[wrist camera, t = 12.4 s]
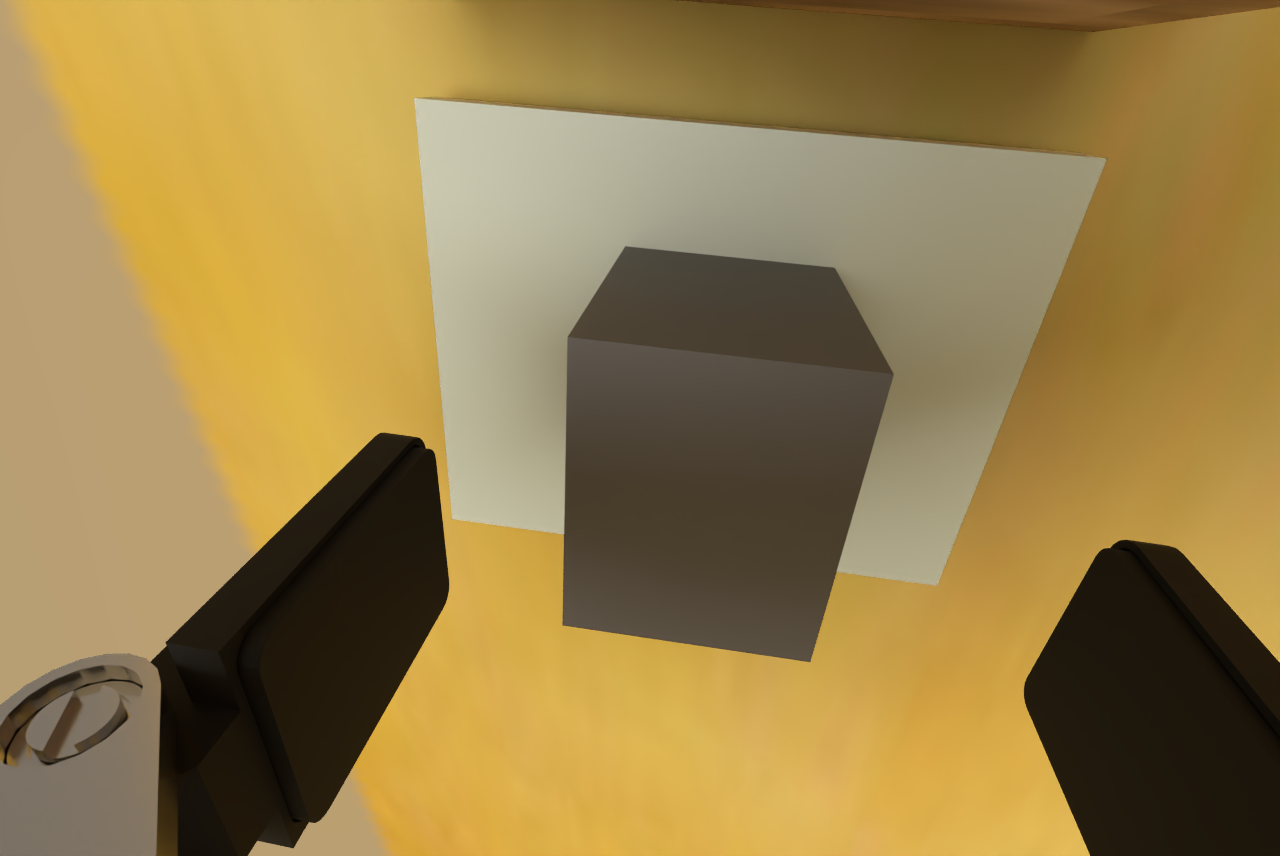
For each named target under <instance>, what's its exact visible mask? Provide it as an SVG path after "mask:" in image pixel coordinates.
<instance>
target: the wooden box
mask: <svg viewBox="0 0 1280 856" xmlns="http://www.w3.org/2000/svg"><path fill="white" fill-rule="evenodd" d="M679 1H693V2H706V3H719V4H733V5H746V6H759V7H773V8H786V9H799V10H812V11H826V12H839V13H852V14H866V15H879V16H892V17H906V18H919V19H932V20H946V21H959V22H972V23H985V24H999V25H1012V26H1025V27H1039V28H1052V29H1065V30H1079V31H1092V32H1095V31H1102V30H1110V29H1117V28H1125V27H1132V26H1140V25H1147V24H1154V23H1162V22H1169V21H1177V20H1184V19H1192V18H1199V17H1207V16H1214V15H1222V14H1229V13H1237V12H1244V11H1252V10H1259V9H1267V8H1274V7H1280V0H679Z"/></svg>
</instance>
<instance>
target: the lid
mask: <svg viewBox="0 0 1280 856" xmlns="http://www.w3.org/2000/svg"><path fill="white" fill-rule="evenodd" d="M414 101H415V112H416V123H417V134H418V145H419V156H420V167H421V178H422V189H423V201H424V212H425V223H426V234H427V245H428V256H429V267H430V278H431V289H432V300H433V311H434V322H435V334H436V345H437V356H438V367H439V378H440V389H441V400H442V411H443V422H444V433H445V444H446V455H447V467H448V478H449V489H450V500H451V511H452V519H456V520H463V521H470V522H477V523H485V524H492V525H499V526H506V527H514V528H521V529H528V530H536V531H543V532H550V533H557V534H564V573H563V625H564V626H571V627H577V628H584V629H591V630H598V631H604V632H611V633H618V634H625V635H631V636H638V637H645V638H651V639H658V640H665V641H672V642H678V643H685V644H692V645H699V646H705V647H712V648H719V649H726V650H732V651H739V652H746V653H753V654H759V655H766V656H773V657H779V658H786V659H793V660H800V661H806V662H810V661H811V657H812V654H813V651H814V647H815V644H816V640H817V637H818V633H819V630H820V627H821V623H822V620H823V616H824V613H825V609H826V606H827V603H828V599H829V596H830V592H831V589H832V585H833V582H834V579H835V575H836V572H841V573H848V574H855V575H862V576H870V577H877V578H884V579H892V580H899V581H906V582H913V583H921V584H928V585H935V586H937V585H938V582H939V580H940V577H941V575H942V572H943V570H944V567H945V565H946V562H947V560H948V557H949V555H950V552H951V550H952V547H953V545H954V542H955V540H956V537H957V535H958V532H959V530H960V527H961V525H962V522H963V519H964V517H965V514H966V512H967V509H968V507H969V504H970V502H971V499H972V497H973V494H974V492H975V489H976V487H977V484H978V482H979V479H980V477H981V474H982V472H983V469H984V467H985V464H986V462H987V459H988V457H989V454H990V452H991V449H992V447H993V444H994V442H995V439H996V437H997V434H998V432H999V429H1000V427H1001V424H1002V422H1003V419H1004V417H1005V414H1006V412H1007V409H1008V406H1009V404H1010V401H1011V399H1012V396H1013V394H1014V391H1015V389H1016V386H1017V384H1018V381H1019V379H1020V376H1021V374H1022V371H1023V369H1024V366H1025V364H1026V361H1027V359H1028V356H1029V354H1030V351H1031V349H1032V346H1033V344H1034V341H1035V339H1036V336H1037V334H1038V331H1039V329H1040V326H1041V324H1042V321H1043V319H1044V316H1045V314H1046V311H1047V309H1048V306H1049V304H1050V301H1051V299H1052V296H1053V294H1054V291H1055V288H1056V286H1057V283H1058V281H1059V278H1060V276H1061V273H1062V271H1063V268H1064V266H1065V263H1066V261H1067V258H1068V256H1069V253H1070V251H1071V248H1072V246H1073V243H1074V241H1075V238H1076V236H1077V233H1078V231H1079V228H1080V226H1081V223H1082V221H1083V218H1084V216H1085V213H1086V211H1087V208H1088V206H1089V203H1090V201H1091V198H1092V196H1093V193H1094V191H1095V188H1096V186H1097V183H1098V181H1099V178H1100V175H1101V173H1102V170H1103V168H1104V165H1105V163H1106V160H1107V158H1102V157H1097V156H1092V155H1088V154H1083V153H1077V152H1065V151H1054V150H1042V149H1031V148H1019V147H1008V146H996V145H985V144H973V143H962V142H950V141H939V140H927V139H916V138H904V137H893V136H881V135H870V134H858V133H847V132H835V131H824V130H812V129H801V128H789V127H778V126H766V125H755V124H743V123H732V122H720V121H709V120H697V119H686V118H674V117H662V116H651V115H639V114H628V113H616V112H605V111H593V110H582V109H570V108H559V107H547V106H536V105H524V104H513V103H501V102H490V101H478V100H467V99H455V98H444V97H425V98H414Z"/></svg>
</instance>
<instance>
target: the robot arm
mask: <svg viewBox="0 0 1280 856" xmlns="http://www.w3.org/2000/svg"><path fill="white" fill-rule="evenodd" d="M448 592H449V576H448V567H447V558H446V549H445V539H444V530H443V521H442V512H441V502H440V493H439V484H438V475H437V465H436V458H435V454H434V452H433V451H432V450H431V449H426V448H425V444H424V442H423V441H422V440H421V439H420V438H417V437H411V436H404V435H397V434H390V433H380V434H378V435H377V436H375V437H374V438H373V439H372V440H371V441H370V442H369V443H368V444H367V445H366V446H365V447H364V448H363V449H362V450H361V451H360V452H359V453H358V454H357V455H356V456H355V457H354V458H353V459H352V460H351V461H350V462H349V463H348V464H347V465H346V466H345V467H344V468H343V469H342V470H341V471H340V472H339V473H338V474H337V475H335V476H334V477H333V478H332V479H331V480H330V481H329V482H328V483H327V484H326V485H325V486H324V487H323V488H322V489H321V490H320V491H319V492H318V493H317V494H316V495H315V496H314V497H313V498H312V499H311V500H310V501H309V502H308V503H307V504H306V505H305V506H304V507H303V508H302V509H301V510H300V511H299V512H298V513H297V514H296V515H295V516H294V517H293V518H292V519H291V520H290V521H289V522H288V523H287V524H286V525H285V526H284V527H283V528H282V529H281V530H280V531H278V532H277V533H276V534H275V535H274V536H273V537H272V538H271V539H270V540H269V541H268V542H267V543H266V544H265V545H264V546H263V547H262V548H261V549H260V550H259V551H258V552H257V553H256V554H255V555H254V556H253V557H252V558H251V559H250V560H249V561H248V562H247V563H246V564H245V565H244V566H243V567H242V568H241V569H240V570H239V571H238V572H237V573H236V574H235V575H234V576H233V577H232V578H231V579H230V580H229V581H228V582H227V583H226V584H225V585H224V586H223V587H222V588H221V589H219V591H217V592H216V594H214V595H213V596H212V597H211V598H210V599H209V601H207V602H206V603H205V604H204V605H203V606H202V607H201V608H200V609H199V610H198V611H197V612H196V613H195V614H194V615H193V616H192V617H191V618H190V619H189V620H188V621H187V622H186V623H185V624H184V625H183V626H182V627H181V628H180V629H179V630H178V631H177V632H176V633H175V634H174V635H173V636H172V637H171V638H170V639H169V640H168V641H167V642H166V644H167V646H166V647H165V648H164V649H163V650H162V651H161V652H160V653H159V654H158V655H157V656H156V657H155V658H154V659H153V660H152V661H151V662H149V661H148V660H147V659H146V658H142V657H139V656H135V655H132V654H103V655H99V656H94V657H89V658H85V659H80V660H78V661H75V662H73V663H70V664H68V665H65V666H62V667H59V668H57V669H54V670H52V671H50V672H48V673H47V674H45V675H43V676H41V677H40V678H38V679H36V680H34V681H32V682H31V683H29V684H27V685H25V686H24V687H23V688H21V689H20V690H19V691H18V692H16V693H15V694H14V695H12V696H11V697H10V698H9V699H7V700H6V701H5V702H3V703H2V704H1V705H0V856H248V854H249V853H250V851H251V849H252V848H253V846H254V845H255V843H256V842H257V841H262V842H266V843H271V844H276V845H280V846H285V847H290V848H294V846H295V845H296V843H297V841H298V839H299V838H300V836H301V834H302V832H303V831H304V829H305V828H306V826H307V824H308V823H309V822H312V823H316V822H318V821H320V820H321V819H322V817H323V816H324V815H325V814H326V813H327V811H328V809H329V808H330V806H331V805H332V803H333V801H334V799H335V798H336V796H337V794H338V792H339V791H340V789H341V787H342V785H343V784H344V782H345V780H346V778H347V777H348V775H349V773H350V771H351V769H352V768H353V766H354V764H355V762H356V761H357V759H358V757H359V755H360V754H361V752H362V750H363V748H364V747H365V745H366V743H367V741H368V740H369V738H370V736H371V734H372V733H373V731H374V729H375V727H376V726H377V724H378V722H379V720H380V719H381V717H382V715H383V713H384V711H385V710H386V708H387V706H388V704H389V703H390V701H391V699H392V697H393V696H394V694H395V692H396V690H397V689H398V687H399V685H400V683H401V682H402V680H403V678H404V676H405V675H406V673H407V671H408V669H409V668H410V666H411V664H412V662H413V660H414V659H415V657H416V655H417V653H418V652H419V650H420V648H421V646H422V645H423V643H424V641H425V639H426V638H427V636H428V634H429V632H430V631H431V629H432V627H433V625H434V624H435V622H436V620H437V618H438V617H439V615H440V613H441V611H442V610H443V608H444V605H445V603H446V600H447V597H448ZM1024 699H1025V704H1026V707H1027V709H1028V712H1029V714H1030V716H1031V719H1032V721H1033V723H1034V726H1035V728H1036V730H1037V733H1038V735H1039V737H1040V740H1041V742H1042V744H1043V747H1044V749H1045V751H1046V754H1047V756H1048V758H1049V761H1050V763H1051V765H1052V768H1053V770H1054V772H1055V775H1056V777H1057V779H1058V781H1059V784H1060V786H1061V788H1062V791H1063V793H1064V795H1065V798H1066V800H1067V802H1068V805H1069V807H1070V809H1071V812H1072V814H1073V816H1074V819H1075V821H1076V823H1077V826H1078V828H1079V830H1080V833H1081V835H1082V837H1083V840H1084V842H1085V844H1086V846H1087V849H1088V851H1089V853H1090V856H1280V663H1279V661H1278V660H1277V659H1276V658H1275V657H1274V656H1273V655H1272V654H1271V652H1270V651H1269V650H1268V649H1267V648H1266V647H1265V646H1264V645H1263V643H1262V642H1261V641H1260V640H1259V639H1258V638H1257V637H1256V636H1255V634H1254V633H1253V632H1252V631H1251V630H1250V629H1249V628H1248V627H1247V625H1246V624H1245V623H1244V622H1243V621H1242V620H1241V619H1240V618H1239V616H1238V615H1237V614H1236V613H1235V612H1234V611H1233V610H1232V609H1231V607H1230V606H1229V605H1228V604H1227V603H1226V602H1225V601H1224V600H1223V598H1222V597H1221V596H1220V595H1219V594H1218V593H1217V592H1216V591H1215V589H1214V588H1213V587H1212V586H1211V585H1210V584H1209V583H1208V582H1207V580H1206V579H1205V578H1204V577H1203V576H1202V575H1201V574H1200V573H1199V571H1198V570H1197V569H1196V568H1195V567H1194V566H1193V565H1192V564H1191V562H1190V561H1189V560H1188V559H1187V558H1186V557H1185V556H1184V554H1183V553H1181V552H1180V551H1179V550H1178V549H1176V548H1174V547H1170V546H1166V545H1159V544H1152V543H1145V542H1138V541H1131V540H1121V541H1118V542H1117V543H1115V544H1114V545H1113V546H1112V547H1111V548H1106V549H1103V550H1101V551H1100V552H1099V553H1098V554H1097V556H1096V557H1095V559H1094V560H1093V562H1092V564H1091V566H1090V568H1089V569H1088V571H1087V573H1086V575H1085V576H1084V578H1083V580H1082V582H1081V583H1080V585H1079V587H1078V589H1077V591H1076V592H1075V594H1074V596H1073V598H1072V599H1071V601H1070V603H1069V605H1068V606H1067V608H1066V610H1065V612H1064V613H1063V615H1062V617H1061V619H1060V621H1059V622H1058V624H1057V626H1056V628H1055V629H1054V631H1053V633H1052V635H1051V636H1050V638H1049V640H1048V642H1047V644H1046V645H1045V647H1044V649H1043V651H1042V652H1041V654H1040V656H1039V658H1038V659H1037V661H1036V663H1035V665H1034V666H1033V668H1032V670H1031V672H1030V674H1029V675H1028V677H1027V679H1026V682H1025V686H1024Z"/></svg>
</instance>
